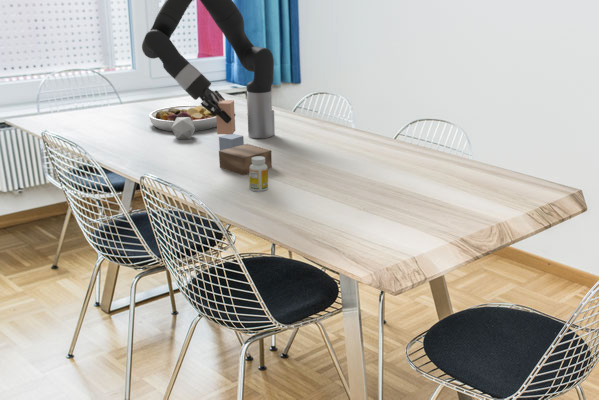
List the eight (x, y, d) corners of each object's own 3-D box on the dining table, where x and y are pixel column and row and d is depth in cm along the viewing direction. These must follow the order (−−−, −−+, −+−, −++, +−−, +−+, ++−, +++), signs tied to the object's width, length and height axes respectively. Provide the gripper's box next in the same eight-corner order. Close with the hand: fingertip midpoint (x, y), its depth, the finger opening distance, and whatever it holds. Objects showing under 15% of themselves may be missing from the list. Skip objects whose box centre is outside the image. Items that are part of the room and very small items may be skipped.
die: (185, 143, 264) (198, 121, 264) (165, 132, 264) (178, 109, 264) (188, 146, 272) (201, 124, 272) (169, 134, 272) (181, 112, 272)
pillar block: (221, 130, 232) (219, 100, 229) (235, 130, 232) (233, 100, 228) (217, 134, 228) (215, 103, 224) (231, 134, 227) (230, 103, 224)
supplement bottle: (251, 192, 208) (250, 161, 205) (249, 186, 213) (247, 156, 210) (269, 191, 209) (268, 159, 206) (266, 185, 214) (265, 154, 211)
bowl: (153, 117, 303) (152, 99, 300) (224, 115, 306) (223, 97, 303) (147, 135, 275) (145, 115, 272) (225, 132, 278) (224, 112, 275)
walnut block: (247, 160, 240) (247, 143, 238) (271, 168, 232) (271, 150, 230) (219, 168, 232) (218, 150, 230) (243, 176, 224) (242, 157, 222)
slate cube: (231, 149, 253) (230, 133, 251) (244, 152, 250) (243, 135, 248) (219, 153, 249) (218, 136, 247) (232, 156, 245) (231, 139, 243)
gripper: (194, 77, 218) (234, 116, 220) (206, 69, 231) (244, 106, 233) (178, 94, 220) (218, 132, 223) (191, 85, 234) (229, 122, 236)
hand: (231, 119), depth 228 cm, fingers closed on pillar block, 4 cm apart
